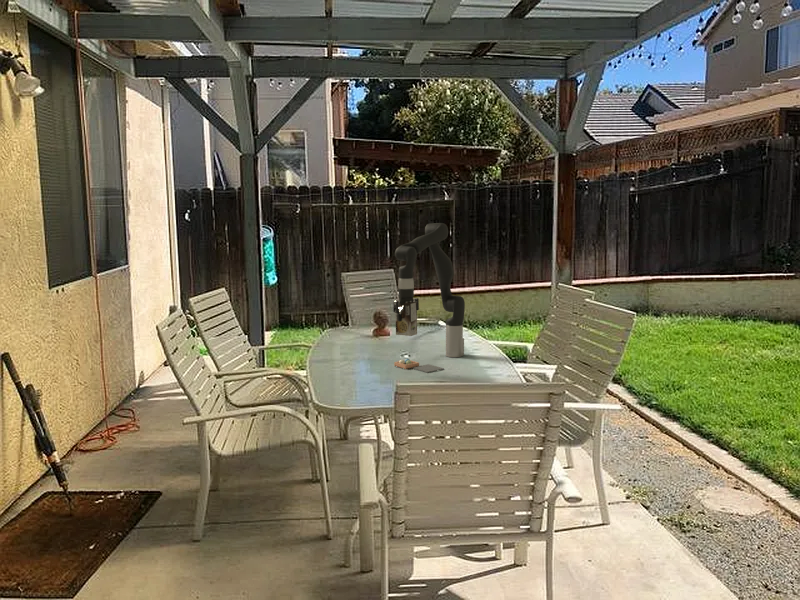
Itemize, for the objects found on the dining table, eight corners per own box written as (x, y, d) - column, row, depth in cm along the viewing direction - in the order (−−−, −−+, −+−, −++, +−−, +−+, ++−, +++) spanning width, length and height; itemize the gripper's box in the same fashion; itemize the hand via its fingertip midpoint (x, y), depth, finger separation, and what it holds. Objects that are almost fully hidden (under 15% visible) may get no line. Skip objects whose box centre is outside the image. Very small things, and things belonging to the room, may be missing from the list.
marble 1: (402, 364, 354) (402, 358, 353) (406, 365, 351) (406, 359, 351) (397, 365, 352) (397, 359, 352) (401, 366, 350) (401, 360, 349)
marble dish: (408, 363, 358) (408, 359, 358) (419, 366, 351) (419, 362, 350) (394, 366, 352) (394, 362, 352) (405, 369, 345) (405, 365, 345)
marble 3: (409, 365, 352) (409, 359, 352) (412, 366, 350) (412, 360, 350) (404, 365, 350) (404, 360, 350) (408, 367, 348) (408, 361, 348)
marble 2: (407, 363, 356) (407, 357, 356) (411, 364, 354) (411, 358, 353) (403, 364, 354) (403, 358, 354) (406, 365, 352) (406, 359, 351)
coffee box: (417, 334, 339) (417, 301, 336) (411, 336, 333) (411, 303, 331) (401, 332, 343) (401, 300, 341) (395, 334, 338) (394, 302, 336)
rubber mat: (428, 365, 354) (428, 364, 354) (444, 369, 345) (444, 368, 345) (412, 368, 347) (412, 367, 347) (427, 372, 338) (427, 371, 338)
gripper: (412, 285, 342) (412, 317, 344) (389, 287, 334) (390, 321, 336) (422, 286, 336) (422, 319, 339) (399, 289, 328) (399, 323, 330)
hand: (406, 320), depth 337 cm, fingers closed on coffee box, 8 cm apart
